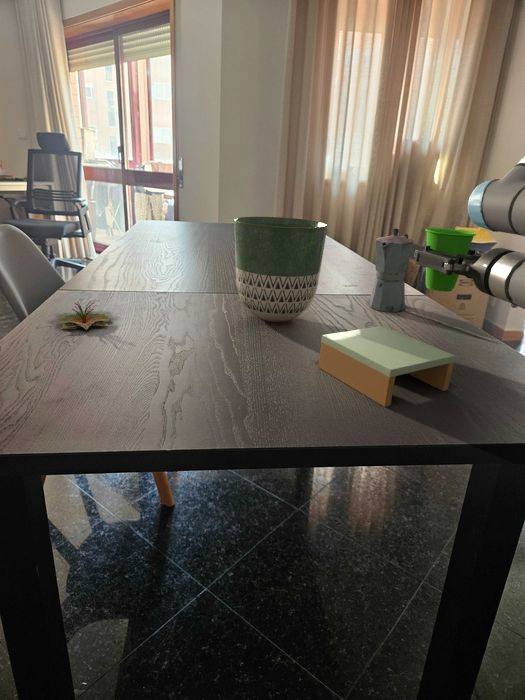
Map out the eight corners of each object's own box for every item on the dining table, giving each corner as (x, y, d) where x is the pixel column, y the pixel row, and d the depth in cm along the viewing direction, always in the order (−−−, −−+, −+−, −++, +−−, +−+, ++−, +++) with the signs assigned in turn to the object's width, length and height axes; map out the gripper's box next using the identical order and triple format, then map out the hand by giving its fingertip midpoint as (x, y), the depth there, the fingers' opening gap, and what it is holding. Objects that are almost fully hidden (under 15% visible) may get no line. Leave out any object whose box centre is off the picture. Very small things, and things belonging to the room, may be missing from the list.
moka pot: (356, 309, 118) (367, 227, 110) (379, 298, 130) (390, 224, 122) (393, 317, 113) (407, 232, 106) (413, 305, 125) (427, 228, 118)
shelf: (447, 390, 75) (455, 355, 73) (384, 407, 68) (391, 369, 66) (377, 355, 88) (382, 325, 86) (318, 367, 81) (321, 334, 79)
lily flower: (54, 316, 99) (51, 295, 97) (113, 313, 103) (112, 293, 101) (51, 335, 88) (49, 312, 87) (117, 331, 93) (116, 308, 91)
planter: (313, 337, 96) (324, 230, 88) (221, 326, 99) (224, 222, 91) (320, 311, 114) (329, 220, 106) (242, 303, 117) (245, 214, 109)
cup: (452, 296, 86) (465, 235, 82) (407, 286, 91) (417, 229, 87) (471, 290, 92) (483, 232, 88) (427, 281, 97) (437, 227, 94)
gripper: (442, 298, 72) (381, 268, 93) (559, 299, 76) (475, 270, 97) (452, 249, 69) (387, 229, 90) (573, 253, 73) (484, 233, 94)
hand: (433, 251), depth 93 cm, fingers closed on cup, 8 cm apart
